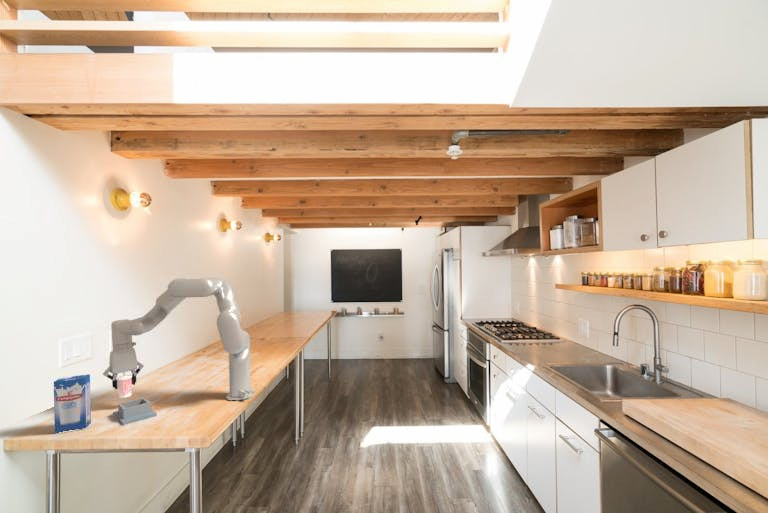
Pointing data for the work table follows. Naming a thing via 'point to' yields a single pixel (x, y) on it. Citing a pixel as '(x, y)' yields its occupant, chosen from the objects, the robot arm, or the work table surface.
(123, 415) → the grey cup holder
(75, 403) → the blue white food package
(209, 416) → the work table surface
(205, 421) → the work table surface
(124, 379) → the beverage cup
